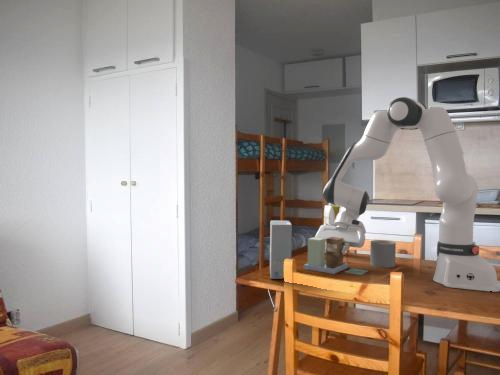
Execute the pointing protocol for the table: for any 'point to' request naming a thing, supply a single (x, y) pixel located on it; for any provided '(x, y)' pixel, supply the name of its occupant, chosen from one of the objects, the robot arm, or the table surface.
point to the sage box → (316, 252)
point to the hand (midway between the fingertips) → (334, 252)
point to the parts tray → (326, 270)
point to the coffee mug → (382, 253)
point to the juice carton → (330, 213)
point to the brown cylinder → (334, 252)
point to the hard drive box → (279, 246)
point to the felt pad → (356, 271)
